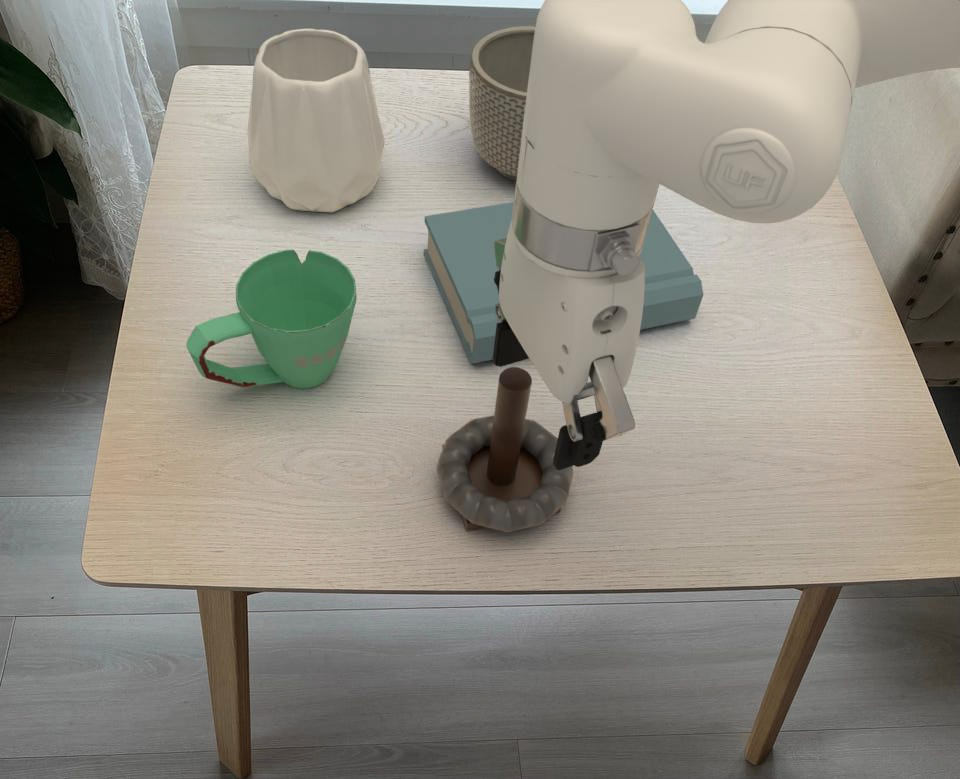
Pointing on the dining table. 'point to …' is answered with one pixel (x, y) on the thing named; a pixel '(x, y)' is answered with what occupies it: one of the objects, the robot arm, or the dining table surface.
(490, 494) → the post
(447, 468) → the segmented grey ring
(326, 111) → the vase
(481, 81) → the planter
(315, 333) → the mug
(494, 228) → the book
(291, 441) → the dining table surface
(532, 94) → the robot arm
